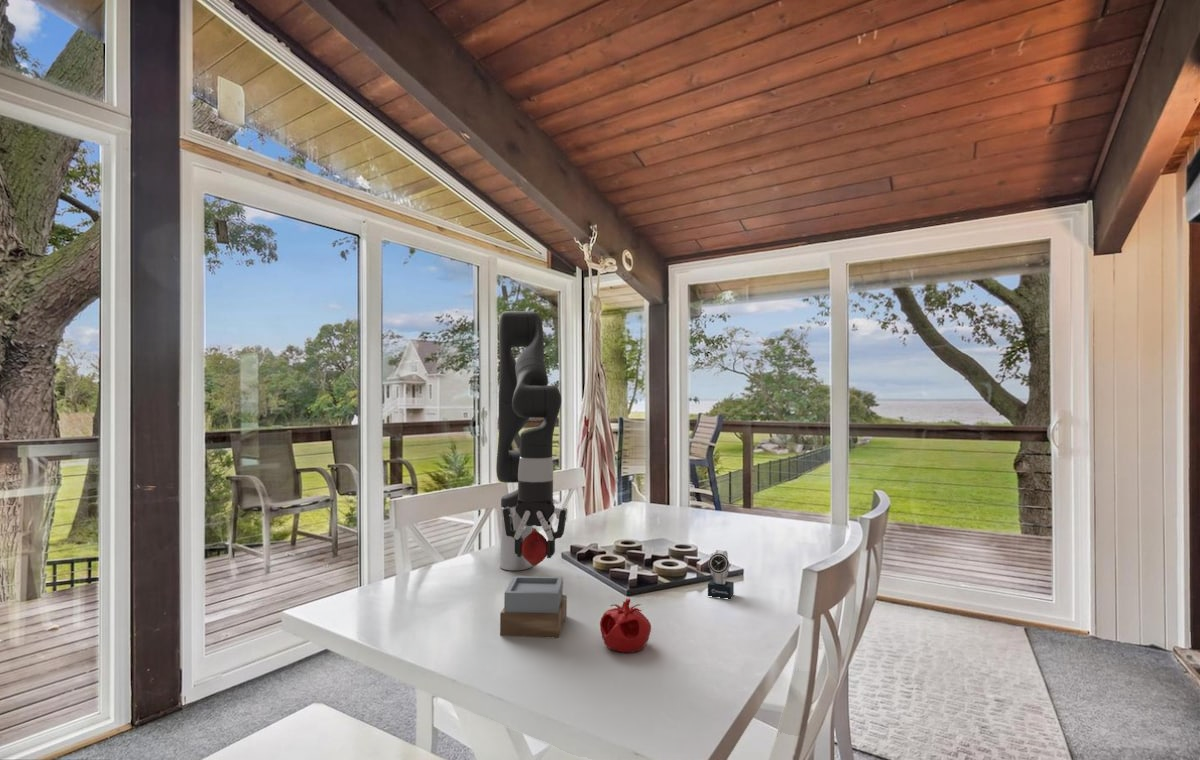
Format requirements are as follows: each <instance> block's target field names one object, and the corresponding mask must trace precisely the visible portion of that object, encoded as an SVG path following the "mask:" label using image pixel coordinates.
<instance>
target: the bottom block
mask: <svg viewBox="0 0 1200 760" xmlns="http://www.w3.org/2000/svg"><path fill="white" fill-rule="evenodd" d="M567 598H568V597H567V594H564V595H562V599H561V603H560V606H559V610H558V613H516V612H504V607H503V608H502V609H501V611H500V612H499V613H500V615H499V619H500V620H499V621H500V622H499V625H500V626H499V635H500V636H503V637H504V636H509V637H524V636H525V638H526V637H529V638H530V637H531V638H546V637H551V638H552V637H554V638H552V639H558V638H559V636H560V634H561V632H562V629H563V626H564V624H565V621H566V619H565V618H567V601H568V600H567ZM563 623H564V624H563Z"/></svg>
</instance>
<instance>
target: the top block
mask: <svg viewBox="0 0 1200 760" xmlns="http://www.w3.org/2000/svg"><path fill="white" fill-rule="evenodd" d="M563 579H564V578H563V576H532V575H531V576H527V575H526V576H525V575H524V576H523V575H522V576H521V575H513V577H512V578H511V581H510V582H509V584H508V586H507V587H506V589H505V591H504V598H503V600H504V603H503V604H504V605H503V606H504V607H503V608H504V612H516V613H558V610H559V606H560V603H561V599H562V595H563V592H564V591H563V586H564V585H563V584H564V581H563Z"/></svg>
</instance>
